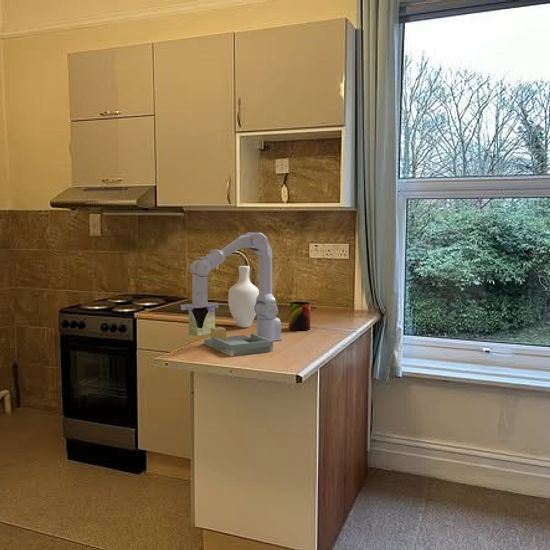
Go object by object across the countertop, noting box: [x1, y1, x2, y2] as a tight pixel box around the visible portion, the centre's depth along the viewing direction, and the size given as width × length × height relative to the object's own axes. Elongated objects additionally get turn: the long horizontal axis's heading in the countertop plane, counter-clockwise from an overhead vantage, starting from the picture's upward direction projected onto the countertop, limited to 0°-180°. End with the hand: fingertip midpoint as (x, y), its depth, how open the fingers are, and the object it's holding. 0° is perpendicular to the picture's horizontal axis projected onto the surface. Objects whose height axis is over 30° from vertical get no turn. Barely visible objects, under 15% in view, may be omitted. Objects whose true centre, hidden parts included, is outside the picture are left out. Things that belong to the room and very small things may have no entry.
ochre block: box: [210, 326, 227, 341], centre depth 215 cm, size 4×4×4 cm
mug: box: [288, 301, 311, 332], centre depth 250 cm, size 10×14×12 cm
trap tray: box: [203, 333, 274, 357], centre depth 211 cm, size 17×24×4 cm
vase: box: [227, 265, 259, 329], centre depth 253 cm, size 14×14×28 cm
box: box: [188, 307, 216, 337], centre depth 237 cm, size 10×6×12 cm, turn 141°
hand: (199, 327), depth 211 cm, fingers closed
